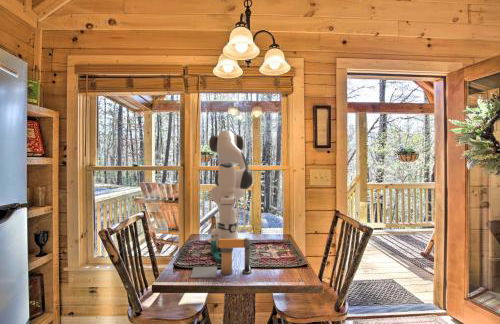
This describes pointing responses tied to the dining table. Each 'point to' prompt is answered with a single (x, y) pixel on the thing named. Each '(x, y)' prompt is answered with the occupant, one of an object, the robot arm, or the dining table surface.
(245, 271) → the post
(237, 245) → the orange wooden bar
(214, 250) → the bracket
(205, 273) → the pad
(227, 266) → the cylinder
